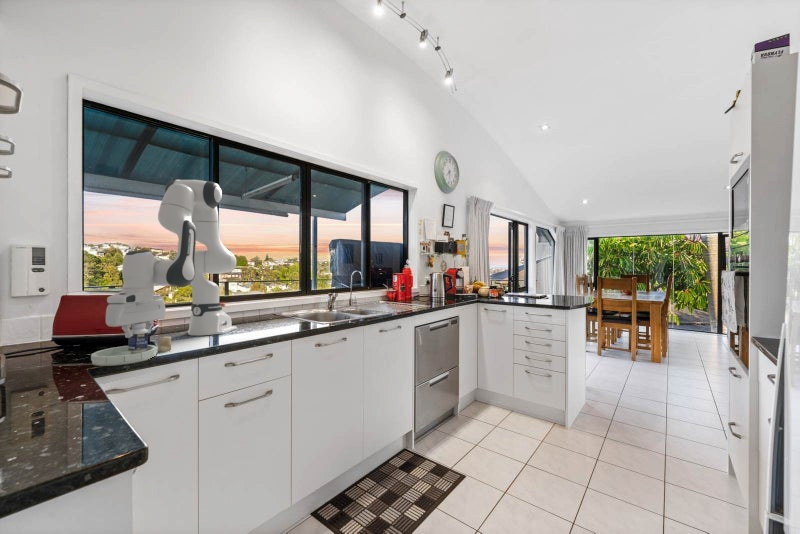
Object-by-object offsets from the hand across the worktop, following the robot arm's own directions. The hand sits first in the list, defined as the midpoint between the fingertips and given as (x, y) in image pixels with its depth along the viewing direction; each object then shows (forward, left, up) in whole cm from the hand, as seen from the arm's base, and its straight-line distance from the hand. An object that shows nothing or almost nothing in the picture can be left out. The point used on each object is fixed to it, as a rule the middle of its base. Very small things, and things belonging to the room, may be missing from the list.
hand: (138, 335), depth 121 cm
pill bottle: (0, 0, -6) cm, 6 cm away
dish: (+4, 0, -7) cm, 8 cm away
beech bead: (-7, +4, -7) cm, 11 cm away
